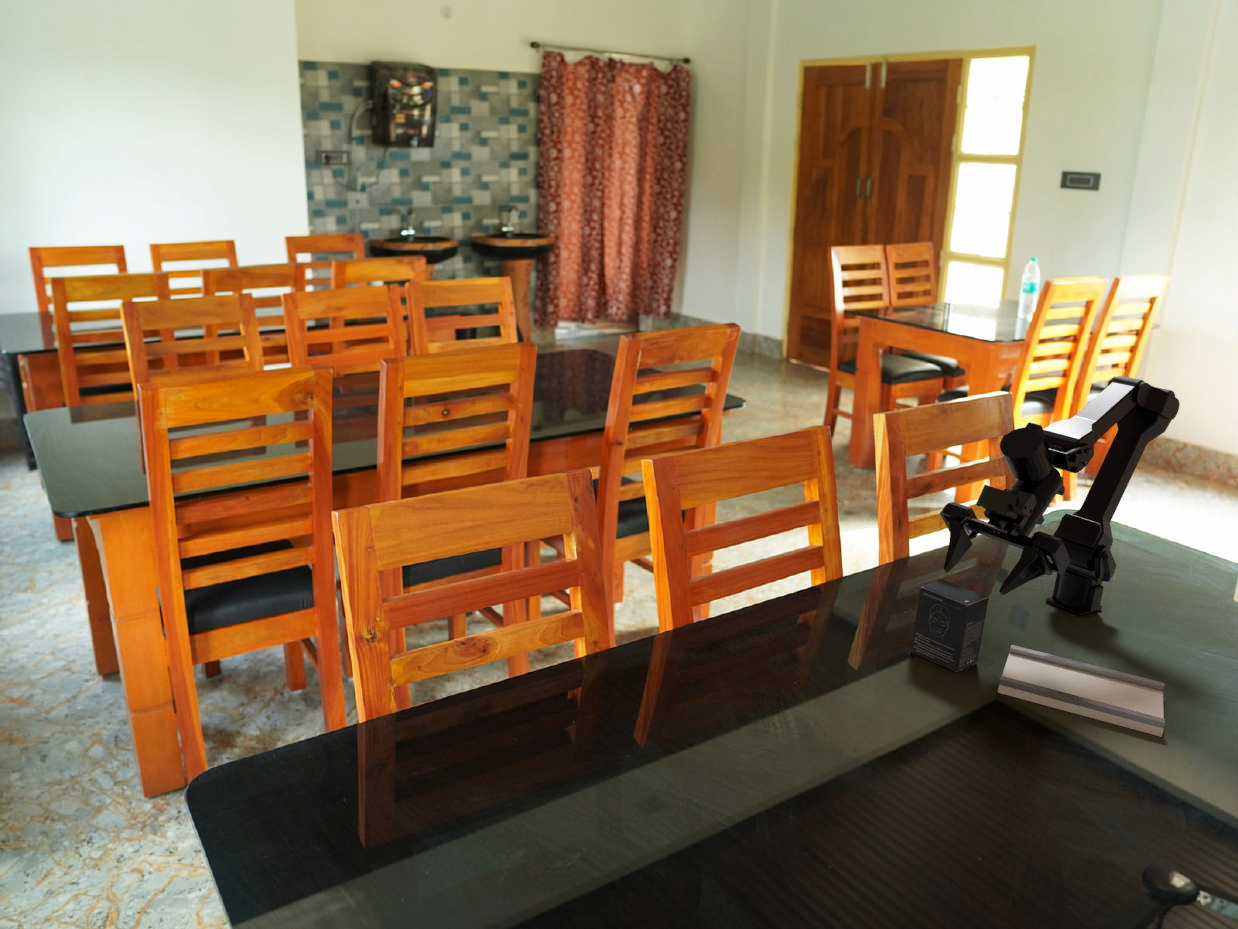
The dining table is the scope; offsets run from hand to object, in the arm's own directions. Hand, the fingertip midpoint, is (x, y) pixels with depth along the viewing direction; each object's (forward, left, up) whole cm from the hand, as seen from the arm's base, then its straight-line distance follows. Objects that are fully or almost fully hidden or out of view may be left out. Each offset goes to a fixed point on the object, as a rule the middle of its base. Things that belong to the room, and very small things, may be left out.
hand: (972, 581), depth 144 cm
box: (0, -4, -11) cm, 12 cm away
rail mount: (+16, +5, -11) cm, 20 cm away
